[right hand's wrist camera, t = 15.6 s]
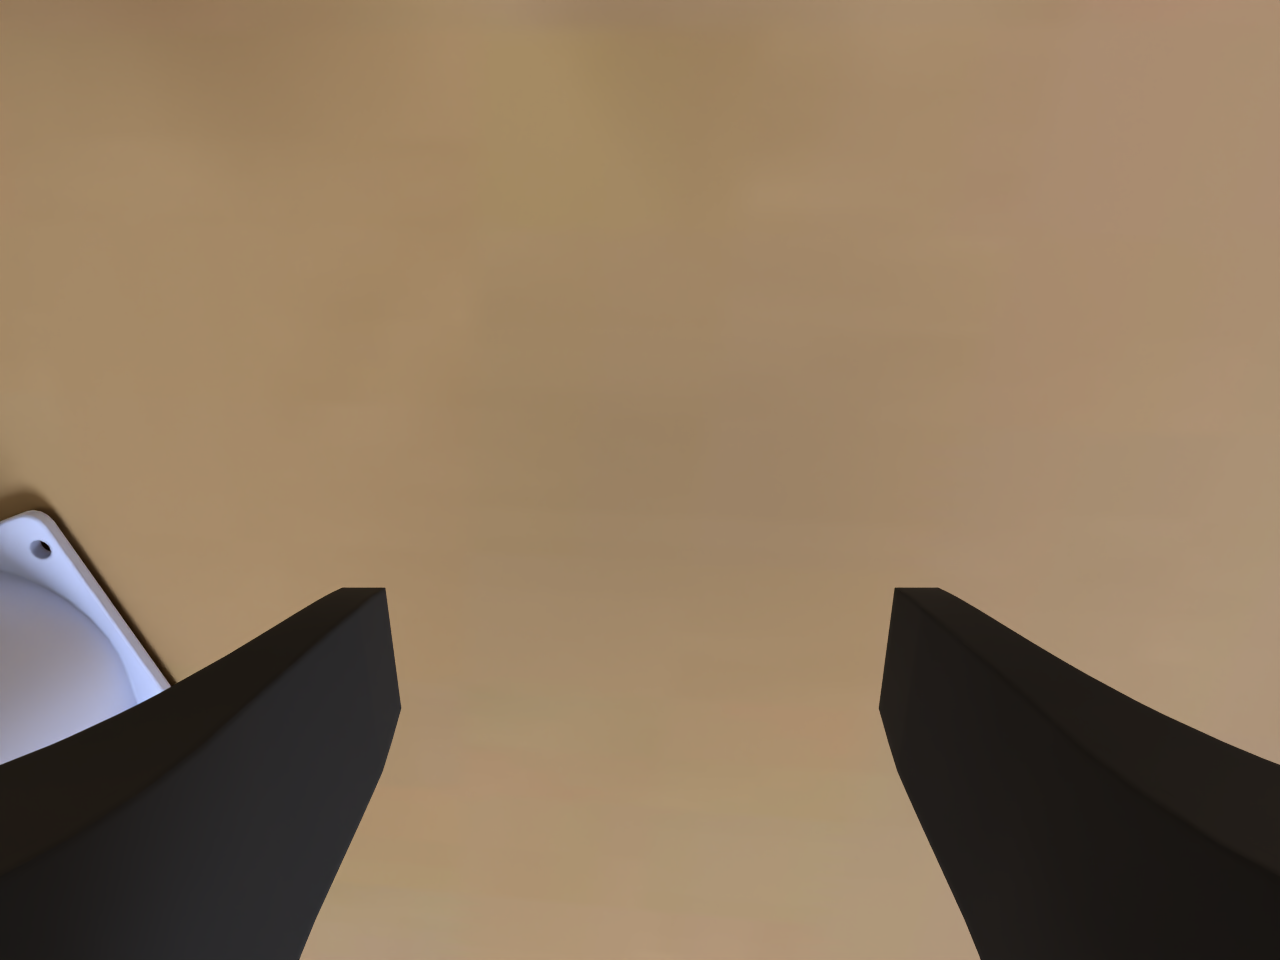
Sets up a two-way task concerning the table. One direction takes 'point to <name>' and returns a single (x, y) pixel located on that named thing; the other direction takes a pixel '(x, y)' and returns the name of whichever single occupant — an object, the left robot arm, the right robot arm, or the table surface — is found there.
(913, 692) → the right robot arm
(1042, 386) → the table surface
